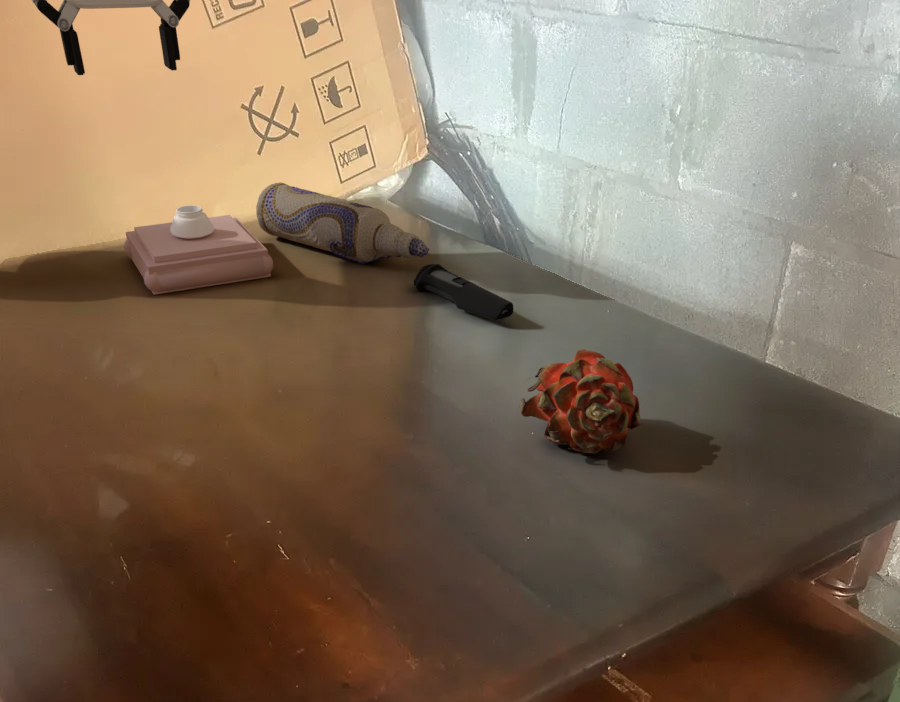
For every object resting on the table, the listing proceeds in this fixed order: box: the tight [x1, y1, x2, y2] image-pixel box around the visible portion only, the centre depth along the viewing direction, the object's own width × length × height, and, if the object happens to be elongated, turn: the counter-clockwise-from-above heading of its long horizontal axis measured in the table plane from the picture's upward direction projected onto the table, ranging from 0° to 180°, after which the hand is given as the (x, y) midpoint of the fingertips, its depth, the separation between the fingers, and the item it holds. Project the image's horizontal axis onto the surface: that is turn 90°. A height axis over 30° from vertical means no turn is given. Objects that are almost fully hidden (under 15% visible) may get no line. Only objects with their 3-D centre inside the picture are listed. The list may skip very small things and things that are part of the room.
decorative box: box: [123, 214, 274, 296], centre depth 111 cm, size 15×15×4 cm
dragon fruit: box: [519, 348, 643, 455], centre depth 76 cm, size 8×8×12 cm
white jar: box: [170, 204, 214, 239], centre depth 109 cm, size 5×3×5 cm
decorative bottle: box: [255, 182, 430, 265], centre depth 114 cm, size 26×8×7 cm, turn 52°
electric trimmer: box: [413, 263, 514, 321], centre depth 101 cm, size 4×16×3 cm, turn 36°
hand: (126, 70), depth 99 cm, fingers open, 9 cm apart
